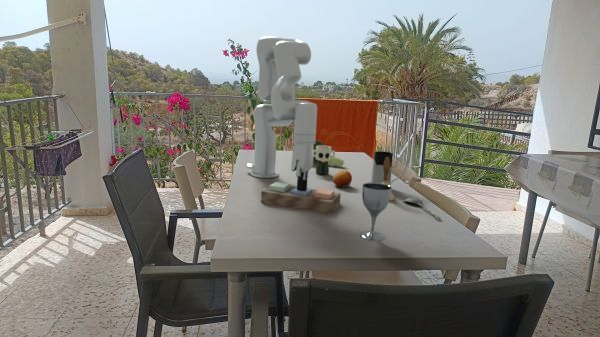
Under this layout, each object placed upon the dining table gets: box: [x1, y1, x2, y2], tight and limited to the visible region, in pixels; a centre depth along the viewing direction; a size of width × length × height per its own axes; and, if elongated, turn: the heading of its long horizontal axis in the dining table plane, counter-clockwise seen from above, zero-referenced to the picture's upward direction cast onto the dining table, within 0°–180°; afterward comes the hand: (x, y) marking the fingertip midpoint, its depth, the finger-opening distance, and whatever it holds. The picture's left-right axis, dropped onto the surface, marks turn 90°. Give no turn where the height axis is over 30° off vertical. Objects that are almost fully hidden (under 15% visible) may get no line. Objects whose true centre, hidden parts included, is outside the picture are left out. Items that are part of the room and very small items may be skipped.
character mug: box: [313, 144, 336, 175], centre depth 187 cm, size 11×7×13 cm, turn 94°
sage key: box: [269, 181, 291, 192], centre depth 144 cm, size 6×6×3 cm
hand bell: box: [382, 157, 396, 202], centre depth 153 cm, size 8×8×16 cm
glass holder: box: [370, 151, 408, 185], centre depth 167 cm, size 9×14×15 cm, turn 70°
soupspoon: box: [403, 197, 442, 221], centre depth 142 cm, size 22×3×7 cm
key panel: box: [260, 185, 342, 215], centre depth 142 cm, size 26×12×4 cm, turn 70°
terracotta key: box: [314, 187, 335, 200], centre depth 139 cm, size 6×6×3 cm
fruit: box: [332, 169, 353, 188], centre depth 168 cm, size 8×8×8 cm
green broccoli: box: [313, 139, 345, 168], centre depth 210 cm, size 25×12×11 cm, turn 59°
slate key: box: [291, 186, 313, 196], centre depth 142 cm, size 6×6×3 cm
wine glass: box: [359, 182, 392, 242], centre depth 114 cm, size 8×8×15 cm
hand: (301, 189), depth 141 cm, fingers closed
